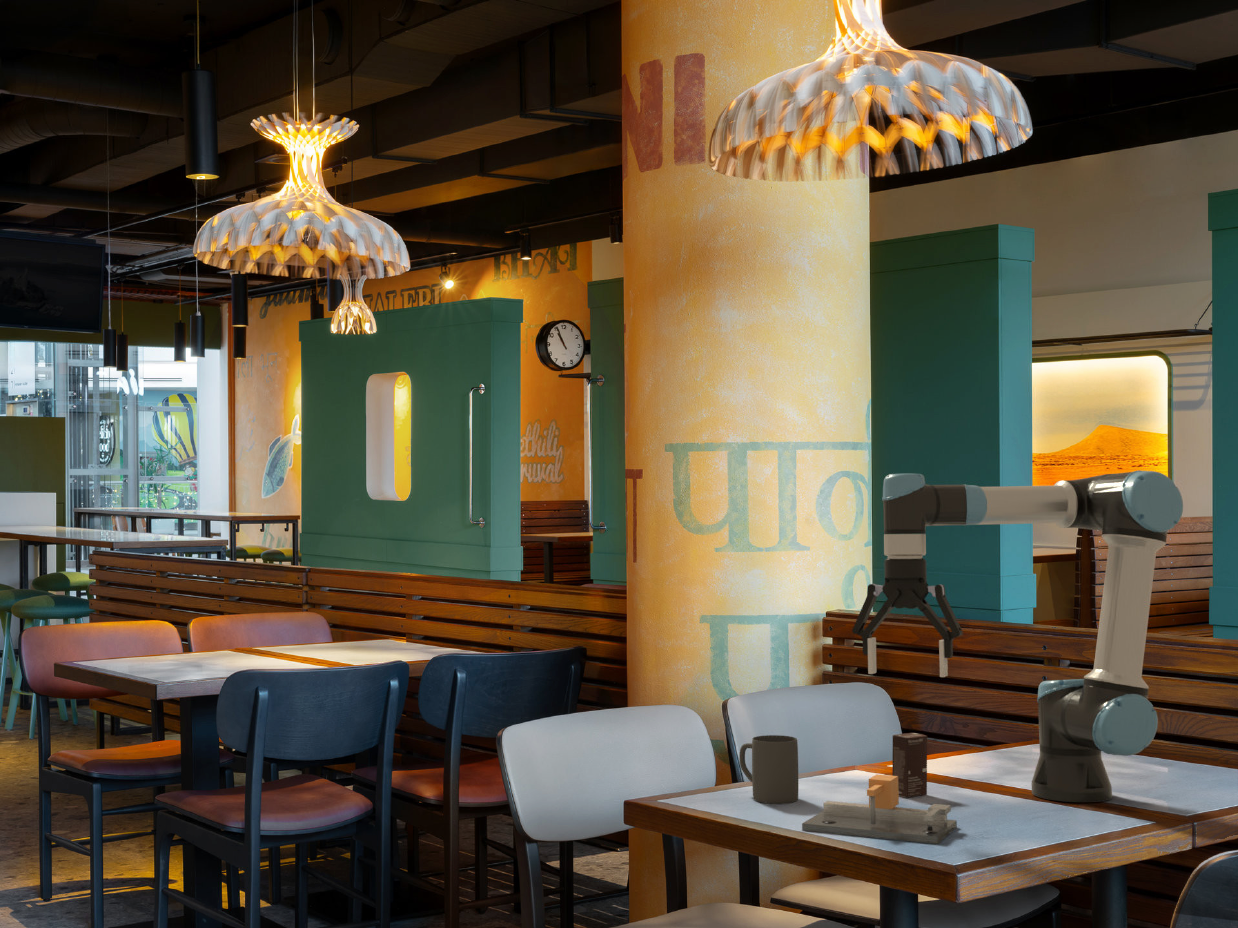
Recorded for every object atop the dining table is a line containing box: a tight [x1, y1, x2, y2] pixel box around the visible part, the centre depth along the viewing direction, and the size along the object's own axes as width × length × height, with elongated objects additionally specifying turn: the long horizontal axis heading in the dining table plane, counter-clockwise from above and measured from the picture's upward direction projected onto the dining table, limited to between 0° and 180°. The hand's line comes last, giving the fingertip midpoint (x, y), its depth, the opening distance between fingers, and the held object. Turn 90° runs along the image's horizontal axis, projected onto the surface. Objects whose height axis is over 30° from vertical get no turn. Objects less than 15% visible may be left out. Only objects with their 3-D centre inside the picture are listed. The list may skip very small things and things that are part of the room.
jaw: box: [866, 774, 900, 824], centre depth 227 cm, size 4×11×7 cm, turn 152°
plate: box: [801, 810, 958, 845], centre depth 227 cm, size 24×14×1 cm, turn 62°
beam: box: [823, 800, 952, 831], centre depth 227 cm, size 22×10×3 cm, turn 62°
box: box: [891, 732, 928, 798], centre depth 257 cm, size 6×4×12 cm
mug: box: [738, 734, 799, 805], centre depth 255 cm, size 14×9×12 cm
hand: (907, 674), depth 233 cm, fingers open, 12 cm apart
